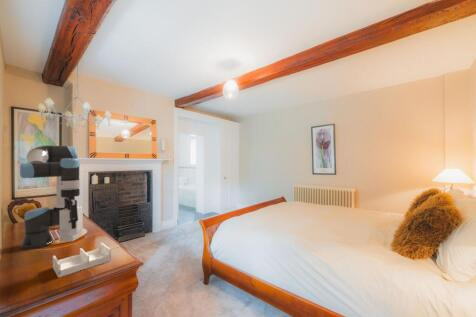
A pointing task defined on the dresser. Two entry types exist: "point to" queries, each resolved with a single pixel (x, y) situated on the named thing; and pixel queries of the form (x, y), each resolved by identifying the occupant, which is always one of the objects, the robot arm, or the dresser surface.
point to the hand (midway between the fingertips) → (70, 232)
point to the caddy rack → (81, 261)
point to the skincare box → (66, 226)
